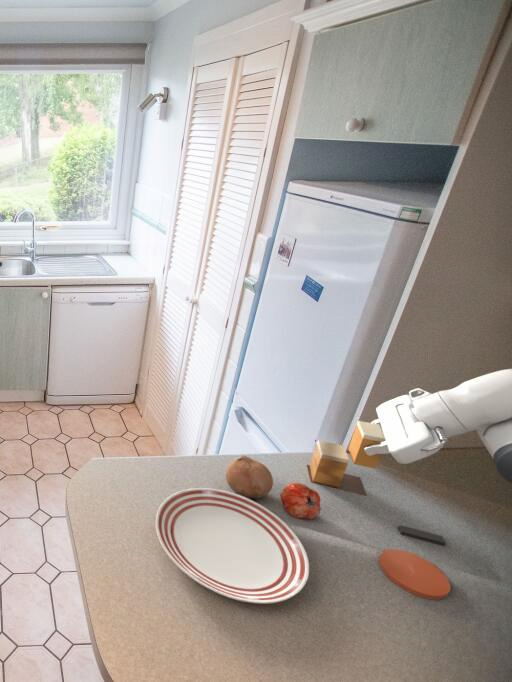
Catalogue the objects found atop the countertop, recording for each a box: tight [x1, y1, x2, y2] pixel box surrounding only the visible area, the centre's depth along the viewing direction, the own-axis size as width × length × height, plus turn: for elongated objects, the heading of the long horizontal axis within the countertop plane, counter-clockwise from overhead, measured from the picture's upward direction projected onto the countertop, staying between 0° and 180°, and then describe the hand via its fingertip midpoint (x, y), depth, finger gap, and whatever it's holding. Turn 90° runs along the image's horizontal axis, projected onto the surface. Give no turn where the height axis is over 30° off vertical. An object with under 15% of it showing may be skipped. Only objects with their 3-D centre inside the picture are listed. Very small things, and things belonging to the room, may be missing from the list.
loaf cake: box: [306, 439, 368, 497], centre depth 106 cm, size 11×7×9 cm, turn 65°
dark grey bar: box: [397, 524, 447, 547], centre depth 95 cm, size 20×2×2 cm, turn 65°
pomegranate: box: [279, 482, 322, 520], centre depth 98 cm, size 7×7×10 cm
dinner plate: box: [155, 487, 310, 605], centre depth 90 cm, size 28×27×3 cm
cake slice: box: [347, 420, 386, 469], centre depth 102 cm, size 4×6×8 cm, turn 155°
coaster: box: [378, 548, 451, 600], centre depth 85 cm, size 10×10×1 cm
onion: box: [225, 454, 274, 501], centre depth 103 cm, size 10×9×10 cm
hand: (363, 442), depth 102 cm, fingers closed on cake slice, 6 cm apart
